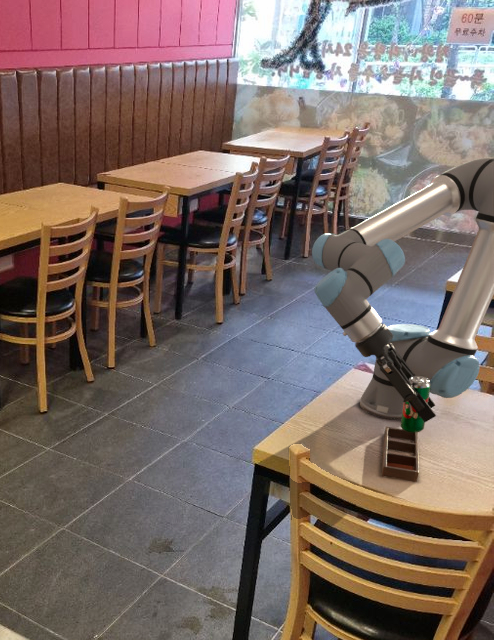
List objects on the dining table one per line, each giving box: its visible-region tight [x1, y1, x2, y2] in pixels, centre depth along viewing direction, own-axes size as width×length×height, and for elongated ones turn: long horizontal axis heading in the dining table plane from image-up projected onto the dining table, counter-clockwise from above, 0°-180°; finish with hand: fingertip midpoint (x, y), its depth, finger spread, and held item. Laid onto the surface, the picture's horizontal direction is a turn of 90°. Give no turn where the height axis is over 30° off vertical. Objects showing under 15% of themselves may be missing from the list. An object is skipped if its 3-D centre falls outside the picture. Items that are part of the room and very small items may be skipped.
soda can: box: [399, 376, 431, 433], centre depth 166 cm, size 5×5×12 cm
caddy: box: [381, 426, 420, 483], centre depth 178 cm, size 22×8×2 cm, turn 162°
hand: (429, 413), depth 165 cm, fingers closed on soda can, 5 cm apart
